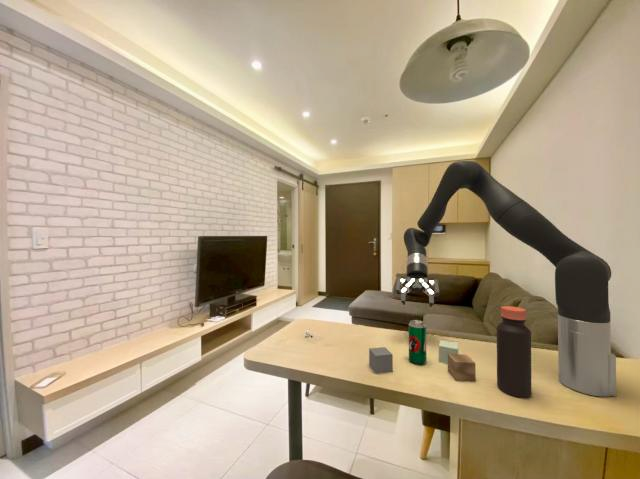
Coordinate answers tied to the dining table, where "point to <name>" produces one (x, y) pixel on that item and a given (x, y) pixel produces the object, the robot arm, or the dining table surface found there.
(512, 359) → the bottle
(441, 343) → the sage block
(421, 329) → the soda can
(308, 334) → the power adapter
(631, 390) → the dining table surface
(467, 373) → the walnut block
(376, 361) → the charcoal block
